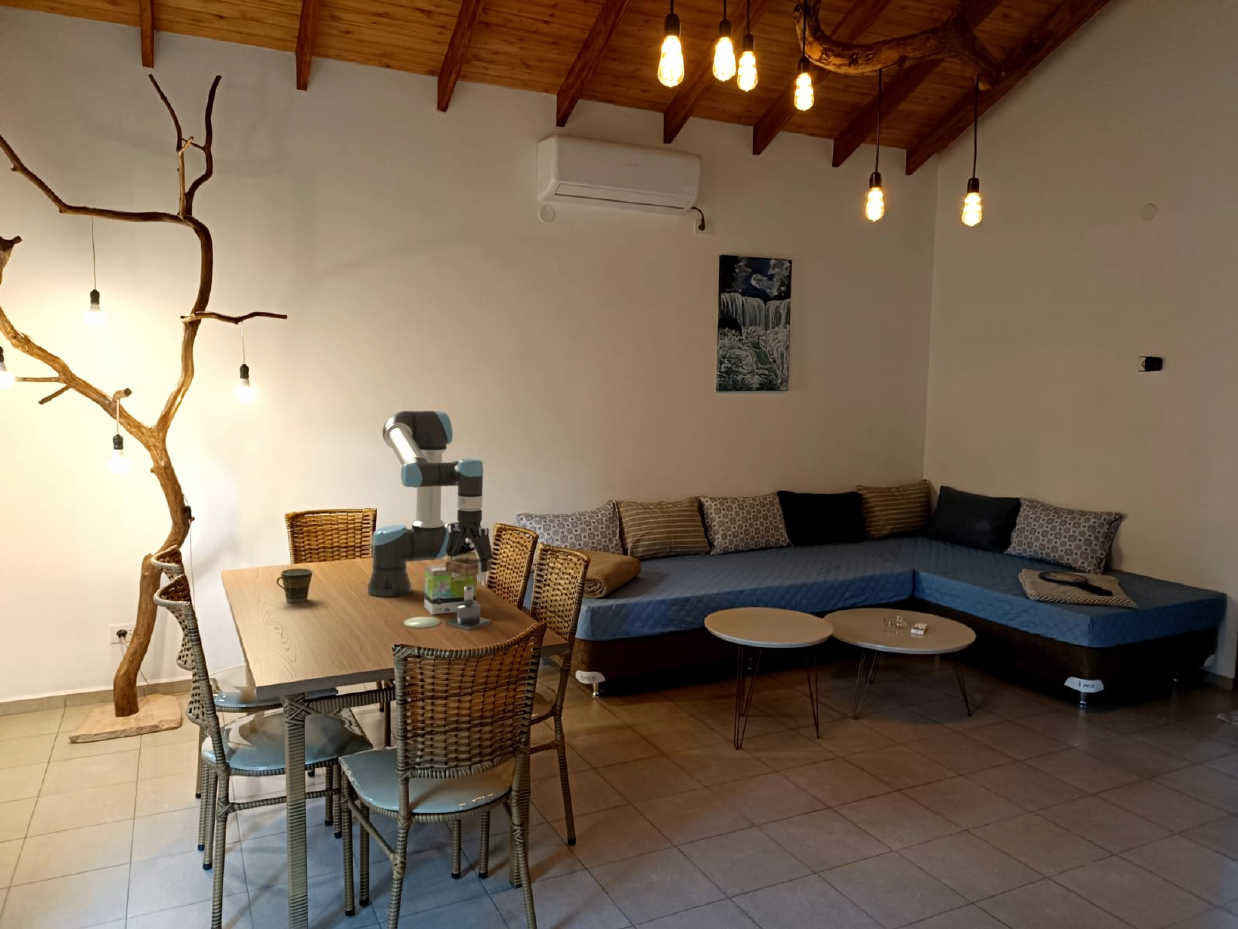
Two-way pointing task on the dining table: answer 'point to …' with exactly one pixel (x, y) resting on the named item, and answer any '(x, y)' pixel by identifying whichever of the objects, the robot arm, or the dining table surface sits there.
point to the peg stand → (468, 613)
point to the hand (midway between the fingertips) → (468, 579)
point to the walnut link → (465, 566)
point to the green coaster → (422, 622)
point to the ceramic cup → (296, 584)
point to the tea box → (445, 589)
